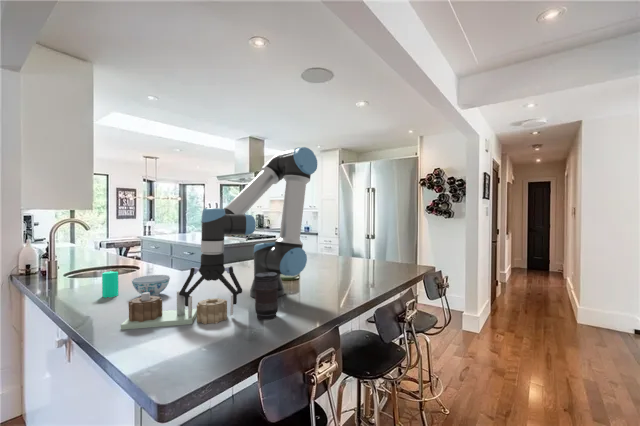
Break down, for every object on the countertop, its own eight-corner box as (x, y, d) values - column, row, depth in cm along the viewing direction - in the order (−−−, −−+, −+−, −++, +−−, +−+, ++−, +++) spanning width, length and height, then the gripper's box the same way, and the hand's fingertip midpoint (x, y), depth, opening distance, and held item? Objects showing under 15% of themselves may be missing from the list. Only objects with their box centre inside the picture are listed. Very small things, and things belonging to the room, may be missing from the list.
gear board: (197, 312, 116) (197, 286, 116) (191, 324, 104) (191, 294, 104) (134, 317, 111) (133, 290, 111) (120, 329, 99) (120, 299, 99)
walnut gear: (159, 310, 113) (159, 294, 113) (164, 318, 105) (164, 300, 105) (128, 316, 107) (127, 298, 107) (130, 324, 100) (130, 305, 99)
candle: (112, 297, 137) (112, 270, 137) (99, 297, 137) (98, 270, 137) (121, 294, 143) (121, 267, 143) (108, 294, 143) (108, 267, 143)
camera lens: (252, 315, 113) (252, 273, 113) (274, 312, 116) (274, 271, 116) (257, 322, 105) (257, 277, 105) (280, 318, 108) (280, 275, 108)
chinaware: (147, 290, 149) (147, 274, 149) (177, 291, 147) (176, 275, 147) (123, 299, 134) (123, 281, 134) (155, 300, 132) (155, 282, 132)
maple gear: (227, 313, 114) (227, 297, 114) (225, 322, 105) (225, 304, 105) (199, 315, 112) (199, 298, 112) (195, 325, 103) (194, 306, 103)
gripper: (249, 251, 115) (248, 309, 115) (175, 251, 109) (174, 313, 109) (249, 254, 108) (248, 316, 107) (170, 254, 102) (168, 320, 102)
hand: (211, 315), depth 108 cm, fingers open, 13 cm apart
